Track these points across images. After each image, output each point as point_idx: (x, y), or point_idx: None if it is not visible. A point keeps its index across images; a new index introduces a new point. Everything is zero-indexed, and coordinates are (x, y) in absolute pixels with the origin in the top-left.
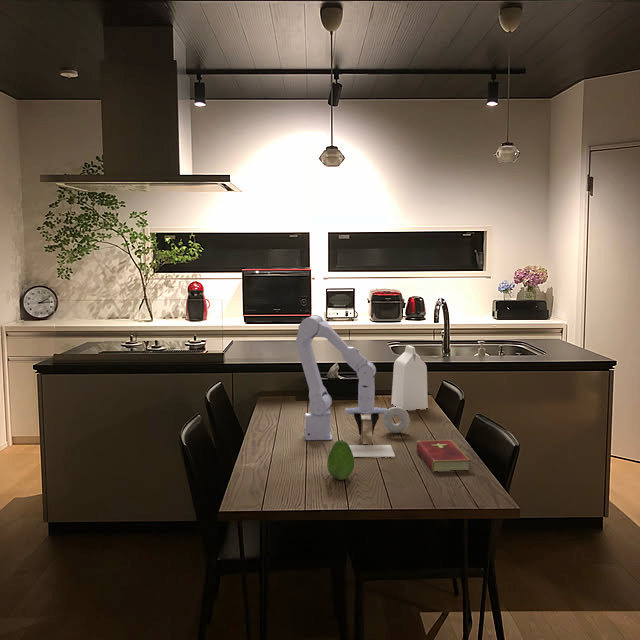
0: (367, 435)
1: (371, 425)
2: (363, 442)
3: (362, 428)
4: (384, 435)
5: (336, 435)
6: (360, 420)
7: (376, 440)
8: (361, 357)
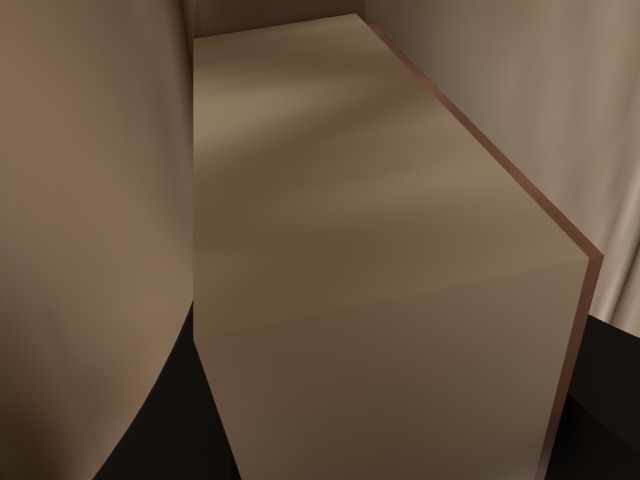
0: (304, 87)
1: (223, 247)
2: (355, 22)
3: (489, 150)
4: (92, 435)
5: (628, 324)
6: (617, 409)
7: (156, 258)
8: None
